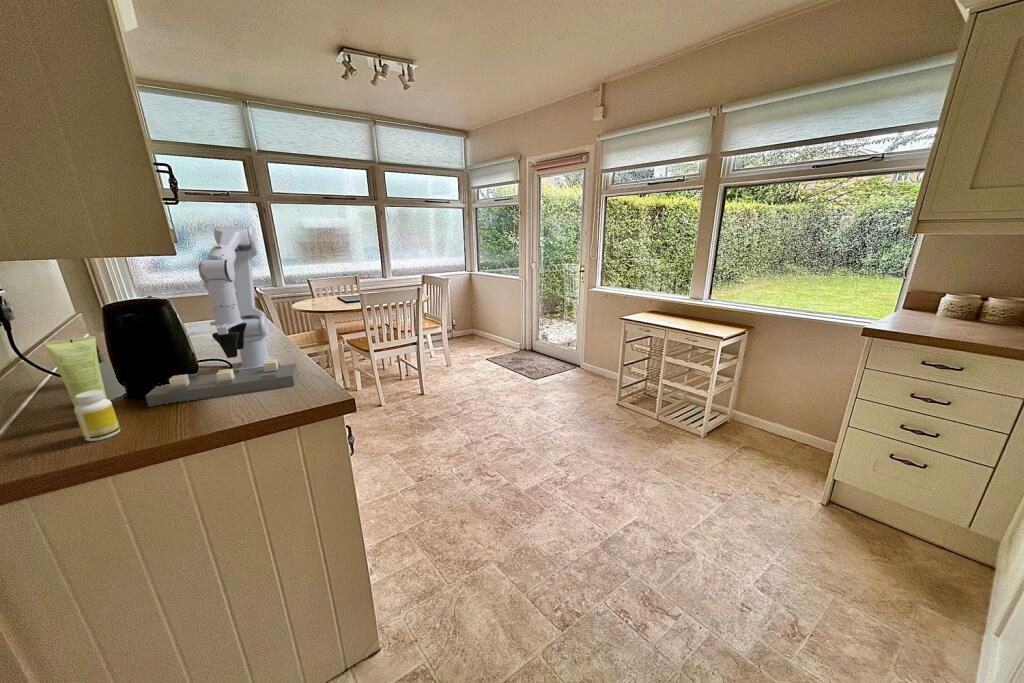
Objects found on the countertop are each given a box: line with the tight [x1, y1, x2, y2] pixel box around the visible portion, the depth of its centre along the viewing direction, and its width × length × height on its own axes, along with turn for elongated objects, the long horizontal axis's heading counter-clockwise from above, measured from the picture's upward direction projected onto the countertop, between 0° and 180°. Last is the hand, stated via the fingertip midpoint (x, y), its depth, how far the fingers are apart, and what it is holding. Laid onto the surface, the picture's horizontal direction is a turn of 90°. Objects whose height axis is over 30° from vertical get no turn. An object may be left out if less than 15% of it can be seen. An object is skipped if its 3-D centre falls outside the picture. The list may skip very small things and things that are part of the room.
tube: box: [43, 335, 107, 408], centre depth 86 cm, size 6×5×20 cm
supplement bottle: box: [73, 390, 121, 442], centre depth 80 cm, size 5×5×10 cm
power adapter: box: [99, 353, 127, 401], centre depth 98 cm, size 3×5×12 cm, turn 177°
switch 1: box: [168, 373, 190, 387], centre depth 99 cm, size 3×3×3 cm
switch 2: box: [263, 358, 279, 372], centre depth 110 cm, size 3×3×3 cm
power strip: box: [145, 363, 299, 408], centre depth 105 cm, size 11×32×4 cm, turn 114°
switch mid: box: [215, 368, 235, 380], centre depth 102 cm, size 3×3×3 cm
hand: (235, 353), depth 106 cm, fingers open, 7 cm apart
